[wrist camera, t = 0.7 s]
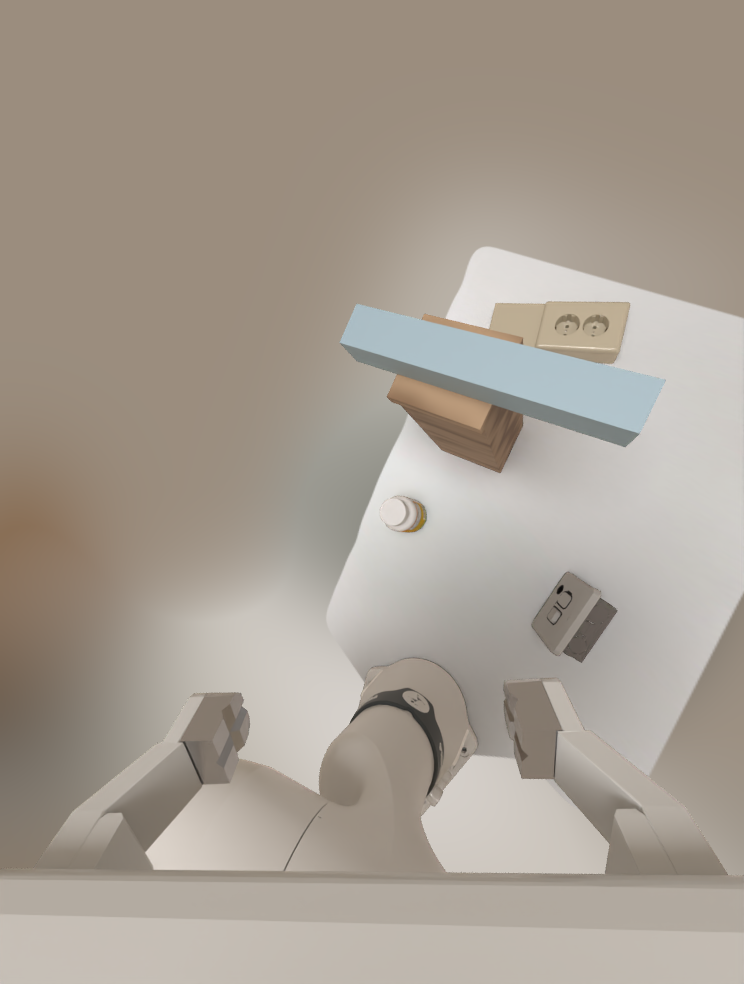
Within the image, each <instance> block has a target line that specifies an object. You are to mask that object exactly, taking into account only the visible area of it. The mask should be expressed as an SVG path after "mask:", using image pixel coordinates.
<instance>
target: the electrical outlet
mask: <svg viewBox="0 0 744 984" xmlns="http://www.w3.org/2000/svg"><path fill="white" fill-rule="evenodd" d="M629 309H630V303H629V302H547V303H546V304H513V303H496V304H495V308H494V312H493V316H492V320H491V324H490V328H489V329H490V330H494V331H498V332H502V333H507V334H511V335H515V336H519V337H523V345H526V346H530V347H534V348H538V349H542V350H546V351H550V352H554V353H558V354H562V355H566V356H571V357H575V358H579V359H583V360H587V361H591V362H595V363H607V364H613V363H614V361H615V359H616V357H617V355H618V353H619V351H620V347H621V343H622V339H623V334H624V330H625V326H626V322H627V317H628V313H629Z"/></svg>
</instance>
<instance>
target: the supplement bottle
mask: <svg viewBox="0 0 744 984" xmlns="http://www.w3.org/2000/svg"><path fill="white" fill-rule="evenodd" d="M380 517H381V519H382V521H383V522H384V523H385V524H386V526H387V527H388V528H390V529H391V530H394V531H399V532H415V531H418V530H419V529H421V528H422V527H423V526H424V524H425V522H426V518H427V514H426V510H425V508H424V506H423V505H422V504H421V503H420V502H418V501H416V500H413V499H410V498H408V497H405V496H394V497H392V498H390V499H388V500H386V501H385V502H384V503H383V504H382V505H381V508H380Z"/></svg>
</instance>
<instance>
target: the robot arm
mask: <svg viewBox="0 0 744 984" xmlns="http://www.w3.org/2000/svg"><path fill="white" fill-rule="evenodd" d="M504 693H505V696H506V699H505V700H504V714H505V721H506V725H507V729H508V733H509V737H510V738H511V739H512V740H513V741H514V754H515V758H516V761H517V764H518V767H519V771H520V774H521V778H523V779H555V782H556V783H557V784H558V785H559V787H560V788H561V789H562V790H563V791H564V792H565V793H566V795H567V796H568V797H569V798H570V799H571V800H572V801H573V803H574V804H575V805H576V806H577V807H578V808H579V809H580V811H581V812H582V813H583V814H584V815H585V816H586V817H587V819H588V820H589V821H590V822H591V823H592V824H593V825H594V827H595V828H596V829H597V830H598V831H599V832H600V833H601V835H602V836H603V837H604V838H605V839H606V840H607V841H608V842H609V844H610V845H609V852H608V858H607V864H606V870H605V874H541V873H535V874H534V873H447V872H445V870H444V868H443V867H442V865H441V864H440V862H439V861H438V859H437V857H436V855H435V854H434V852H433V850H432V848H431V846H430V844H429V842H428V840H427V837H426V835H425V832H424V829H423V826H422V823H421V816H422V815H423V814H424V813H425V811H426V810H427V809H428V808H429V806H430V805H432V806H435V805H436V804H437V803H438V801H439V800H440V798H441V796H442V794H443V790H444V788H445V787H446V786H447V785H448V783H449V782H450V781H451V780H452V779H453V777H454V776H455V775H456V774H457V772H458V771H459V770H460V769H461V767H462V766H463V765H464V764H465V763H466V762H467V760H468V759H469V758H470V757H471V756H472V754H473V753H474V752H475V750H476V748H477V746H478V742H477V738H476V736H475V734H474V732H473V730H472V728H471V726H470V724H469V722H468V717H467V711H466V705H465V701H464V698H463V695H462V693H461V691H460V689H459V687H458V685H457V684H456V682H455V681H454V680H453V678H452V677H451V676H450V675H449V674H448V673H447V672H446V671H445V670H444V669H442V668H441V667H439V666H438V665H436V664H434V663H432V662H430V661H427V660H424V659H419V658H408V659H403V660H400V661H398V662H396V663H394V664H392V665H390V666H386V667H385V666H378V667H372V668H371V669H370V670H369V671H368V673H367V676H366V680H365V684H364V688H363V691H362V693H361V700H360V704H359V708H358V710H357V711H356V713H355V714H354V716H353V718H352V719H351V721H350V724H349V725H348V726H347V727H346V728H345V730H344V731H343V732H342V733H341V734H340V735H339V736H338V737H337V738H336V739H335V740H334V741H333V742H332V743H331V745H330V746H329V748H328V749H327V752H326V754H325V756H324V758H323V761H322V765H321V768H320V776H319V791H320V795H319V794H317V793H315V792H313V791H312V790H310V789H308V788H306V787H305V786H303V785H301V784H299V783H298V782H296V781H294V780H292V779H291V778H289V777H287V776H285V775H284V774H282V773H280V772H278V771H276V770H275V769H273V768H271V767H269V766H265V765H261V764H258V763H255V762H251V761H247V760H243V759H239V758H238V754H237V752H238V751H239V750H240V749H241V748H242V747H243V746H244V745H245V743H246V740H247V737H248V734H249V728H250V718H249V714H248V711H247V710H246V709H244V708H243V707H242V704H243V701H244V699H243V697H242V694H241V693H197V694H195V693H194V694H193V695H192V696H190V697H189V698H188V700H187V702H186V704H185V705H184V707H183V708H182V710H181V712H180V713H179V715H178V717H177V718H176V720H175V722H174V723H173V725H172V727H171V729H170V730H169V732H168V734H167V735H166V737H165V738H164V740H163V742H162V743H157V744H156V745H154V746H153V747H152V748H151V749H150V750H148V751H147V752H146V753H145V754H143V755H142V756H141V757H140V758H138V759H137V760H136V761H135V762H133V763H132V764H131V765H130V766H128V767H127V768H126V769H125V770H124V771H122V772H121V773H120V774H119V775H117V776H116V777H115V778H114V779H113V780H111V781H110V782H109V783H107V784H106V785H105V786H104V787H103V788H101V789H100V790H99V791H98V792H96V793H95V794H94V795H92V796H91V797H90V798H89V799H88V800H86V801H85V802H84V803H83V804H81V805H80V806H79V807H78V808H76V809H75V810H74V811H73V812H72V813H71V815H70V816H69V818H68V819H67V820H66V822H65V823H64V825H63V826H62V828H61V829H60V830H59V832H58V833H57V835H56V836H55V837H54V839H53V840H52V842H51V843H50V845H49V846H48V848H47V849H46V850H45V852H44V853H43V855H42V856H41V857H40V859H39V860H38V862H37V863H36V865H35V866H34V867H33V868H24V869H23V868H0V984H744V875H728V874H727V872H726V871H725V869H724V868H723V866H722V864H721V863H720V861H719V859H718V858H717V856H716V855H715V853H714V851H713V850H712V848H711V847H710V845H709V843H708V842H707V841H706V839H705V837H704V835H703V834H702V832H701V831H700V829H699V827H698V826H697V824H696V823H695V821H694V819H693V818H692V816H691V815H690V813H689V811H688V810H687V808H686V807H685V806H684V805H683V804H681V803H680V802H679V801H678V800H676V799H675V798H674V797H673V796H671V795H670V794H669V793H668V792H666V791H665V790H664V789H663V788H661V787H660V786H659V785H658V784H656V783H655V782H654V781H653V780H652V779H650V778H649V777H648V776H647V775H645V774H644V773H643V772H642V771H640V770H639V769H638V768H637V767H635V766H634V765H633V764H632V763H630V762H629V761H628V760H627V759H625V758H624V757H623V756H622V755H620V754H619V753H618V752H617V751H615V750H614V749H613V748H612V747H610V746H609V745H608V744H607V743H605V742H604V741H603V740H602V739H600V738H599V737H598V736H597V735H596V734H594V733H593V732H592V731H585V730H584V728H583V726H582V724H581V722H580V720H579V718H578V716H577V714H576V712H575V709H574V707H573V705H572V703H571V701H570V699H569V697H568V695H567V693H566V691H565V689H564V687H563V685H562V683H561V681H560V680H559V679H558V678H541V679H538V678H536V679H518V680H504ZM463 747H465V748H466V751H463V750H462V748H463Z"/></svg>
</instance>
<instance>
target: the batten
mask: <svg viewBox="0 0 744 984" xmlns="http://www.w3.org/2000/svg"><path fill="white" fill-rule="evenodd" d="M340 343H341V345H342V346H343V347H344V348H345V349H346V350H347V351H348V352H349V353H350V354H351V355H352V356H353V358H354V359H355V360H356V361H358V362H361V363H364V364H368V365H371V366H374V367H377V368H380V369H383V370H386V371H390V372H392V373H396V374H399V375H402V376H405V377H408V378H411V379H414V380H417V381H420V382H424V383H427V384H430V385H433V386H436V387H439V388H442V389H445V390H449V391H452V392H455V393H458V394H461V395H464V396H467V397H470V398H474V399H477V400H480V401H483V402H486V403H489V404H492V405H495V406H498V407H502V408H505V409H508V410H511V411H514V412H517V413H520V414H523V415H527V416H530V417H533V418H536V419H539V420H542V421H545V422H548V423H552V424H555V425H558V426H561V427H564V428H567V429H570V430H573V431H576V432H580V433H583V434H586V435H589V436H592V437H595V438H598V439H601V440H605V441H608V442H611V443H614V444H617V445H620V446H623V447H626V446H627V445H628V444H629V443H630V442H631V441H633V440H634V439H635V438H636V437H637V436H638V435H639V434H640V432H641V430H642V428H643V426H644V424H645V422H646V420H647V418H648V416H649V414H650V412H651V410H652V407H653V405H654V403H655V401H656V399H657V397H658V395H659V393H660V391H661V389H662V387H663V385H664V383H665V381H666V380H664V379H660V378H656V377H652V376H648V375H644V374H640V373H635V372H631V371H627V370H623V369H619V368H615V367H611V366H607V365H603V364H599V363H595V362H591V361H587V360H583V359H579V358H575V357H571V356H566V355H562V354H558V353H554V352H550V351H546V350H542V349H538V348H534V347H530V346H526V345H522V344H518V343H514V342H510V341H506V340H501V339H497V338H493V337H489V336H485V335H481V334H477V333H473V332H469V331H465V330H461V329H457V328H453V327H449V326H445V325H441V324H437V323H432V322H428V321H424V320H420V319H416V318H412V317H408V316H404V315H400V314H396V313H392V312H388V311H384V310H380V309H376V308H371V307H367V306H363V305H359V304H357V305H356V307H355V309H354V311H353V313H352V316H351V318H350V320H349V323H348V325H347V327H346V329H345V332H344V334H343V336H342V338H341V341H340Z"/></svg>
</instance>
